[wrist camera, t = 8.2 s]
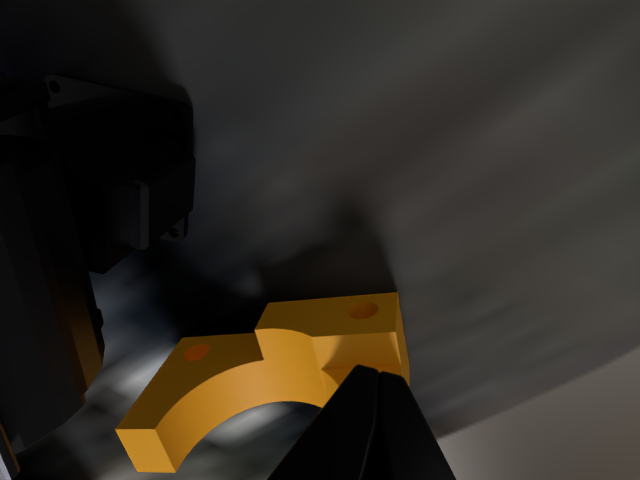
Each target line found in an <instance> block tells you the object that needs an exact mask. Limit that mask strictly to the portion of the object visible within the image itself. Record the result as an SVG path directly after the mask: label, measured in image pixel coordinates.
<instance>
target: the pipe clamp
mask: <svg viewBox="0 0 640 480" xmlns="http://www.w3.org/2000/svg"><path fill="white" fill-rule="evenodd" d="M358 364H360V365H364V366H368V367H371V368H375V369H377V370H378V371H379V373H380V372H381V371H386V372H390V373H394V374H397V375H401V376H402V377H404V379H405V380H406V382H407V384H408V386H409V360H408V354H407V348H406V342H405V336H404V329H403V323H402V317H401V311H400V305H399V299H398V292H393V293H381V294H369V295H357V296H345V297H333V298H321V299H309V300H297V301H285V302H273V303H268V305H267V307H266V308H265V310H264V312H263V314H262V316H261V318H260V320H259V322H258V324H257V326H256V328H255V333H245V334H230V335H215V336H200V337H185V338H182V339H181V340H180V341H179V343H178V344H177V346H176V347H175V348H174V350H173V351H172V352H171V354H170V355H169V356H168V358H167V359H166V361H165V362H164V363H163V365H162V366H161V367H160V369H159V370H158V372H157V373H156V374H155V376H154V377H153V378H152V380H151V381H150V382H149V384H148V385H147V387H146V388H145V389H144V391H143V392H142V393H141V395H140V396H139V397H138V399H137V400H136V402H135V403H134V404H133V406H132V407H131V408H130V410H129V411H128V413H127V414H126V415H125V417H124V418H123V419H122V421H121V422H120V423H119V425H118V426H117V428H116V429H115V430H116V432H117V434H118V436H119V438H120V440H121V442H122V444H123V445H124V447H125V449H126V451H127V453H128V455H129V457H130V459H131V461H132V463H133V464H134V466H135V468H136V470H137V472H173V473H176V471H177V469H178V468H179V466H180V464H181V463H182V461H183V460H184V458H185V457H186V455H187V454H188V453H189V452H190V450H191V449H192V448H193V447H194V446H195V445H196V444H197V443H198V442H199V441H200V440H201V439H202V438H203V437H204V436H205V435H206V434H207V433H208V432H210V431H211V430H212V429H213V428H215V427H216V426H217V425H219V424H220V423H222V422H223V421H225V420H226V419H228V418H230V417H232V416H234V415H235V414H237V413H239V412H242V411H244V410H246V409H249V408H252V407H255V406H258V405H262V404H266V403H271V402H278V401H299V402H306V403H310V404H314V405H317V406H319V407H322V408H323V406H324V405H325V404H326V403H327V401H328V400H329V399H330V397H331V396H332V395H333V394H334V392H335V391H336V390H337V388H338V387H339V386H340V384H341V383H342V382H343V381H344V379H345V378H346V377H347V375H348V374H349V373H350V372H351V370H352V369H353V368H354V366H356V365H358Z"/></svg>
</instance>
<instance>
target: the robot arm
mask: <svg viewBox="0 0 640 480" xmlns="http://www.w3.org/2000/svg"><path fill="white" fill-rule="evenodd" d="M56 82H57V83H58V84H59V86H60V91H59V90H58V89H57V88H56V85H55V84H56ZM177 109H179V110H180V111H181V112H182V113H183V120H181V119H179V118H178V117H177V115H176V111H177ZM192 128H193V112H192V110H191V108H190V106H189V105H188V104H187V103H184V102H182V101H178V100H173V99H169V98H164V97H160V96H156V95H151V94H147V93H143V92H138V91H134V90H129V89H125V88H121V87H116V86H112V85H107V84H103V83H99V82H94V81H90V80H86V79H81V78H77V77H72V76H68V75H64V74H50V75H48V76H46V77H45V79H44V82H43V81H24V78H23V77H21V76H10V75H6V73H3V72H0V480H12V479H13V478H15V477H16V476H17V475H18V474H19V472H20V467H19V465H18V462H17V460H16V457H15V454H17V453H19V452H21V451H23V450H25V449H27V448H28V447H30V446H31V445H33V444H34V443H36V442H37V441H39V440H40V439H42V438H44V437H45V436H47V435H48V434H50V433H51V432H53V431H54V430H56V429H57V428H59V427H60V426H61V425H63V424H64V423H65V422H66V421H67V420H68V419H69V418H71V417H72V416H73V415H74V414H75V413H76V412H77V411H78V410H79V409H80V408H81V407H83V405H84V404H85V402H86V396H85V392H86V391H87V390H88V388H89V387H90V385H91V383H92V382H93V380H94V378H95V377H96V375H97V373H98V372H99V370H100V368H101V367H102V364H103V357H104V349H105V344H104V340H103V336H102V332H101V328H102V326H103V318H102V313H101V310H100V309H98V308H97V305H96V301H95V297H94V293H93V289H92V284H91V280H90V276H89V272H88V271H91V272H95V273H99V274H104V273H106V272H107V271H108V270H110V269H111V268H112V267H113V266H115V265H116V264H117V263H118V262H120V261H121V260H122V259H123V258H124V257H126V256H127V255H128V254H129V253H131V252H132V251H133V250H134V249H136V248H137V249H141V250H144V249H146V248H147V247H149V246H150V245H151V244H153V243H154V242H155V241H156V240H157V239H163V240H167V241H171V242H180V241H181V240H182V239H183V238H184V237H185V236H186V235H187V230H188V213H189V212H190V211H192V209H193V199H194V181H195V162H196V159H195V157H194V156H193V154H192V153H191V149H192ZM172 228H175V229H177V231H178V233H179V234H176V233H174V231H173V229H172ZM267 480H456V478H455V476H454V475H453V472H452V470H451V469H450V466H449V464H448V463H447V461H446V459H445V457H444V455H443V453H442V451H441V449H440V447H439V445H438V443H437V441H436V439H435V437H434V435H433V433H432V431H431V429H430V427H429V425H428V423H427V421H426V419H425V417H424V415H423V414H422V412H421V410H420V408H419V406H418V404H417V402H416V400H415V398H414V396H413V394H412V392H411V390H410V388H409V386H408V384H407V382H406V380H405V379H404V377H402V376H401V375H397V374H394V373H390V372H386V371H381V372H380V373H379V371H378V370H377V369H375V368H371V367H368V366H364V365H360V364H358V365H356V366H354V368H353V369H352V370H351V372H350V373H349V374H348V375H347V377H346V378H345V379H344V381H343V382H342V383H341V384H340V386H339V387H338V388H337V390H336V391H335V392H334V394H333V395H332V396H331V397H330V399H329V400H328V401H327V403H326V404H325V405H324V406H323V408H322V409H321V410H320V412H319V413H318V414H317V416H316V417H315V418H314V419H313V421H312V422H311V423H310V425H309V426H308V427H307V428H306V430H305V431H304V432H303V434H302V435H301V436H300V438H299V439H298V440H297V441H296V443H295V444H294V445H293V447H292V448H291V449H290V450H289V452H288V453H287V454H286V456H285V457H284V458H283V460H282V461H281V462H280V463H279V465H278V466H277V467H276V469H275V470H274V471H273V472H272V474H271V475H270V476H269V478H268V479H267Z"/></svg>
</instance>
